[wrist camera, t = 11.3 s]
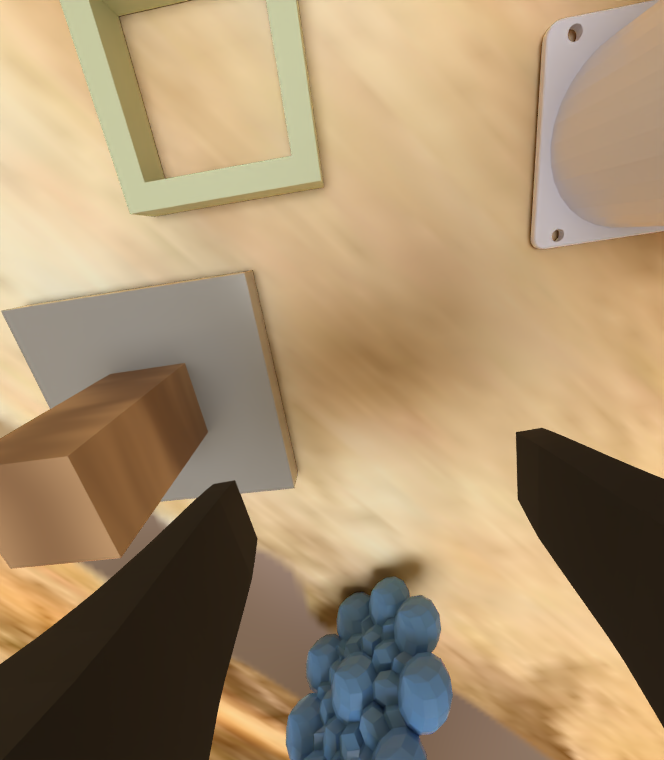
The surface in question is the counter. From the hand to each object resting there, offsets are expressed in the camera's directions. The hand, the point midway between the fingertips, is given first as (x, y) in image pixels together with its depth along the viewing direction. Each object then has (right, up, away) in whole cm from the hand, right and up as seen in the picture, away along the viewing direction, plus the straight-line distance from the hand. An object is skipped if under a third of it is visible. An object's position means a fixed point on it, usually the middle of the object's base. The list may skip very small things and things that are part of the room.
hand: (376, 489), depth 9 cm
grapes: (+1, -13, +17) cm, 22 cm away
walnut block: (-10, +2, +9) cm, 14 cm away
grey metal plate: (-10, +2, +11) cm, 15 cm away
